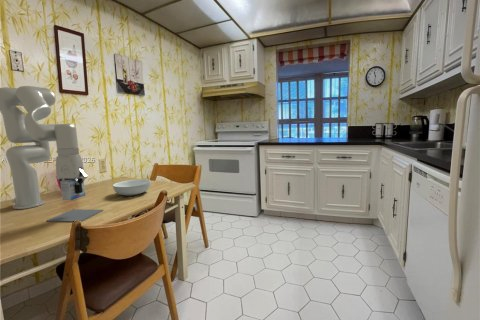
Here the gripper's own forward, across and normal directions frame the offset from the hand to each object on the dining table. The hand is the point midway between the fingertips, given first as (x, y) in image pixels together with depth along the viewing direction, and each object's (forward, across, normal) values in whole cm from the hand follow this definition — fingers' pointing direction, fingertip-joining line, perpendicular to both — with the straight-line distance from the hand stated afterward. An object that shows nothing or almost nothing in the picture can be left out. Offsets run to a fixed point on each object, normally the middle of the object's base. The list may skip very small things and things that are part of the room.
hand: (73, 192), depth 105 cm
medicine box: (+3, 0, 0) cm, 3 cm away
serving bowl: (+11, +5, +37) cm, 39 cm away
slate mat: (+11, 0, 0) cm, 11 cm away
